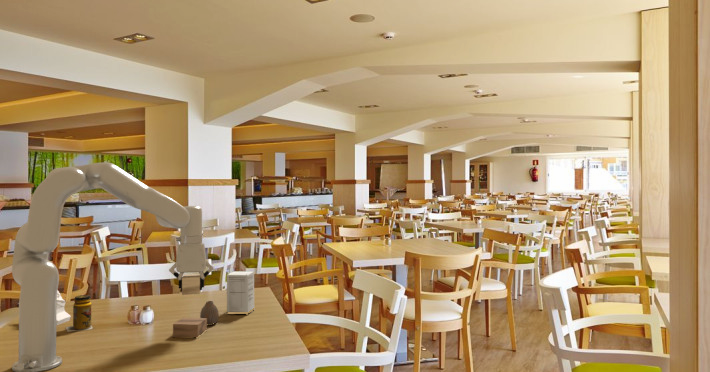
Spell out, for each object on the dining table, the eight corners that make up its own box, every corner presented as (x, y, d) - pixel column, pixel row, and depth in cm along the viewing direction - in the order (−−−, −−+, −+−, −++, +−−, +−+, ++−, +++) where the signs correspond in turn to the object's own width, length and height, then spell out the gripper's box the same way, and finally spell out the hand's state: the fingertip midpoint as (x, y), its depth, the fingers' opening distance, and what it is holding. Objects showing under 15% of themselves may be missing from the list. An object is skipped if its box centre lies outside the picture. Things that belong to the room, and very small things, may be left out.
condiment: (93, 329, 194) (93, 296, 194) (67, 332, 189) (67, 299, 189) (90, 324, 200) (91, 293, 200) (65, 327, 195) (66, 295, 196)
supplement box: (254, 310, 226) (255, 271, 226) (248, 315, 216) (248, 274, 216) (233, 309, 227) (233, 270, 227) (225, 314, 217) (226, 274, 217)
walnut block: (197, 338, 183) (197, 324, 183) (172, 338, 184) (173, 324, 184) (206, 331, 192) (206, 318, 192) (183, 331, 193) (183, 317, 193)
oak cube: (199, 293, 186) (199, 277, 186) (182, 294, 185) (182, 277, 185) (200, 290, 192) (200, 274, 192) (183, 291, 191) (183, 275, 191)
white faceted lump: (53, 320, 212) (64, 285, 215) (72, 329, 204) (83, 293, 206) (21, 318, 202) (33, 282, 204) (39, 328, 194) (51, 290, 196)
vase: (196, 325, 201) (196, 302, 201) (209, 321, 207) (209, 298, 207) (209, 327, 198) (209, 304, 198) (222, 323, 204) (222, 300, 204)
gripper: (164, 242, 183) (165, 293, 183) (215, 240, 187) (215, 290, 187) (167, 239, 190) (167, 289, 190) (216, 238, 194) (216, 286, 194)
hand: (191, 289), depth 189 cm, fingers closed on oak cube, 6 cm apart
